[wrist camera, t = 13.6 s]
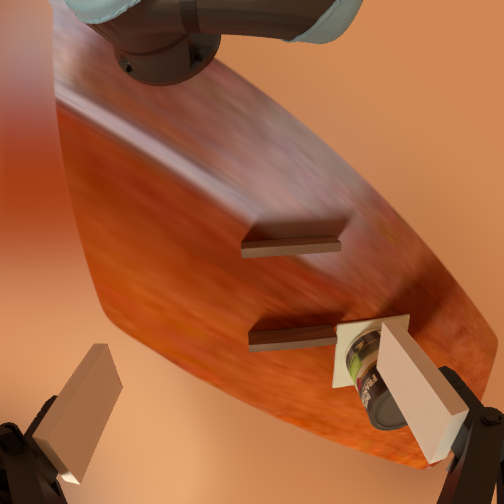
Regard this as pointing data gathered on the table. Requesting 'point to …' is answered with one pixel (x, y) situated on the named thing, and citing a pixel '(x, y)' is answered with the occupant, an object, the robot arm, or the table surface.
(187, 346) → the table surface
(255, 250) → the wooden bars
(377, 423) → the coffee can
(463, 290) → the table surface
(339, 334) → the mat
